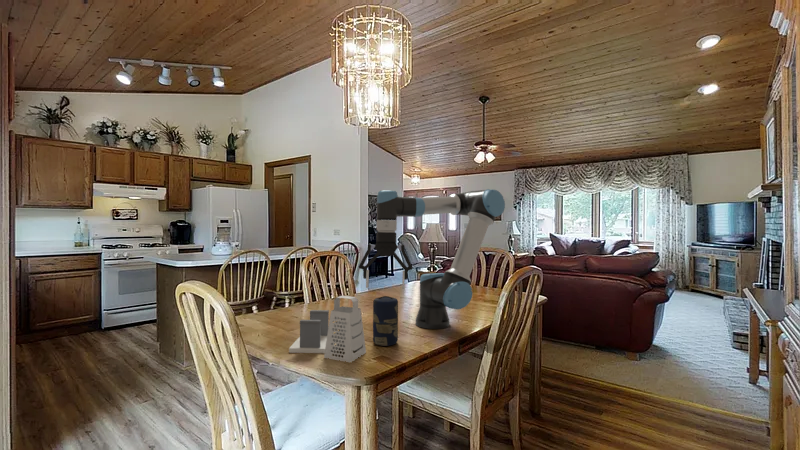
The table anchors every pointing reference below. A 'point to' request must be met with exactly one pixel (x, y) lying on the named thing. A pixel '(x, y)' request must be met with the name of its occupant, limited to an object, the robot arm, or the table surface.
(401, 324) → the table surface
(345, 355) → the grater
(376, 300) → the canister
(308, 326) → the napkin holder
